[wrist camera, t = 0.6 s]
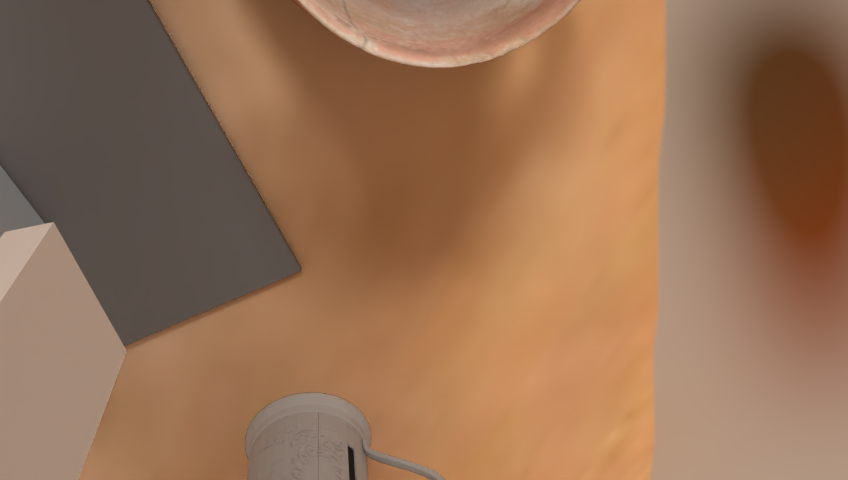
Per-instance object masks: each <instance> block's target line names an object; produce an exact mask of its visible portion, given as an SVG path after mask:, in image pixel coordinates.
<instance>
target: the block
mask: <svg viewBox="0 0 848 480" xmlns="http://www.w3.org/2000/svg"><path fill="white" fill-rule="evenodd" d="M41 224H45V223H44V222H43V220H42V219H41V218H40V216H39V215H38V214H37V212H36V211H35V210H34V209H33V207H32V206H31V205H30V203H29V202H28V201H27V199H26V198H25V197H24V196H23V194H22V193H21V192H20V190H19V189H18V188H17V186H16V185H15V184H14V182H13V181H12V180H11V179H10V177H9V176H8V175H7V173H6V172H5V171H4V169H3V168H2V167H1V165H0V238H1V236H2V235H3V234H4V232H7V231H12V230H17V229H22V228H27V227H31V226H36V225H41Z"/></svg>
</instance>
